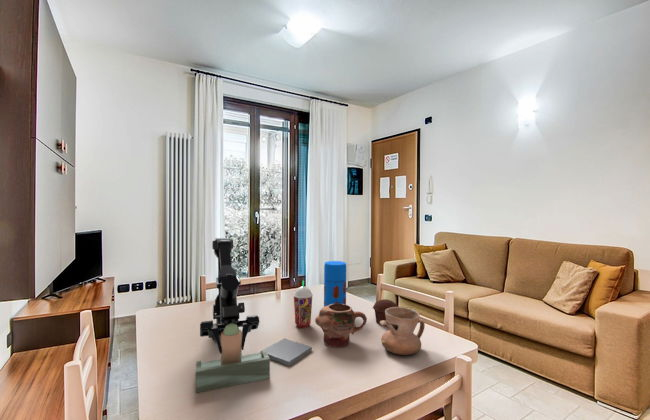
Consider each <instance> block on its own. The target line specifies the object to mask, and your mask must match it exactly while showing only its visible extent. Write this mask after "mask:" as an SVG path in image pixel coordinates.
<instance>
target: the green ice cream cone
mask: <svg viewBox="0 0 650 420" xmlns="http://www.w3.org/2000/svg"><path fill="white" fill-rule="evenodd" d="M220 344H221V354H220V359H221V365H225V364H231V363H236V362H242V356H243V355H242V354H243V353H242V351H243V350H242V329H240V327H238V326H237V325H236V324H234V323H231V324H228V325H227V326H226V327H225V328H224V331H223V332H222V333H221V334H220Z"/></svg>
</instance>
